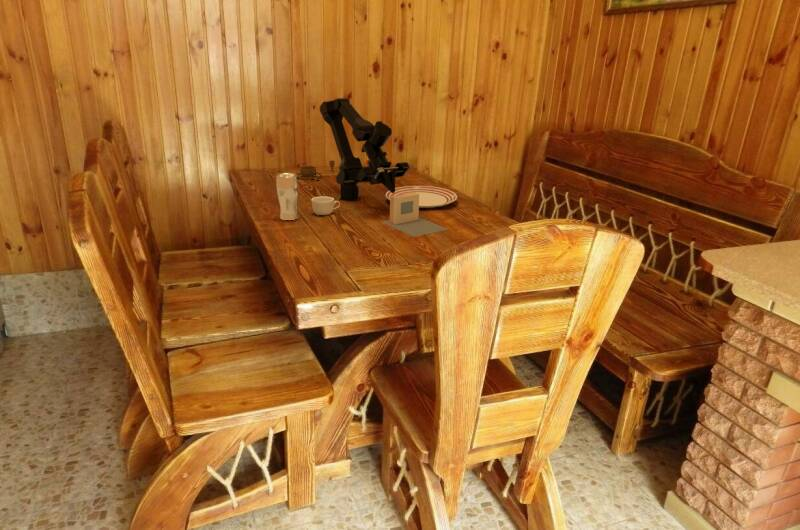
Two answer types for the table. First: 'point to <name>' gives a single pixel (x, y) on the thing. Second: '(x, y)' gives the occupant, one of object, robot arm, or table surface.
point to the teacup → (323, 205)
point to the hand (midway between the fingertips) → (393, 192)
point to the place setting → (312, 171)
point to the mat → (417, 227)
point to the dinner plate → (427, 195)
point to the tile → (404, 208)
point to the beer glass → (287, 195)
